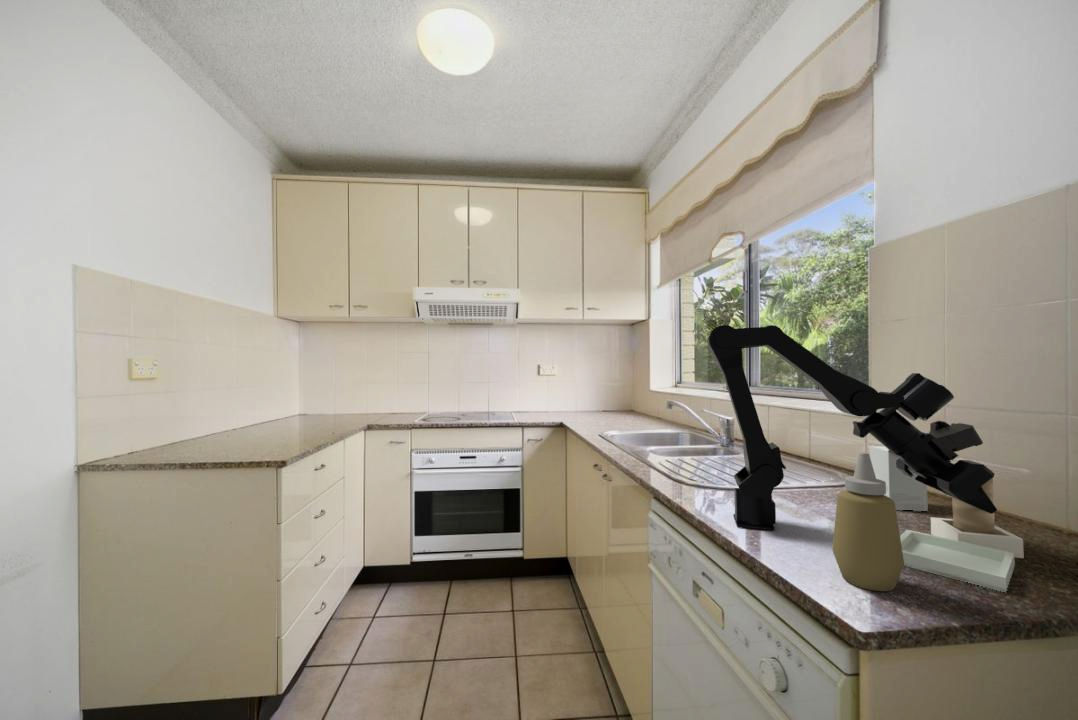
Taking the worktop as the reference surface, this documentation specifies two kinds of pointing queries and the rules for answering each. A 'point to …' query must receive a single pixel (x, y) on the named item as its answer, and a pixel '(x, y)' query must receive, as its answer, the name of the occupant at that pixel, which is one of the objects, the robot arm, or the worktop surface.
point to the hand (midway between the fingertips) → (983, 506)
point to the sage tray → (958, 560)
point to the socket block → (979, 537)
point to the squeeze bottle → (867, 531)
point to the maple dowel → (974, 514)
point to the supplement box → (898, 481)
